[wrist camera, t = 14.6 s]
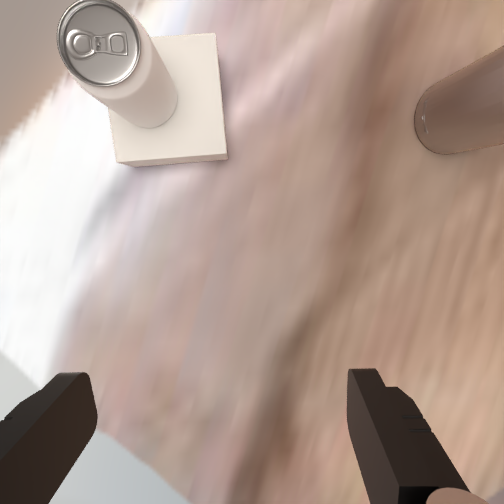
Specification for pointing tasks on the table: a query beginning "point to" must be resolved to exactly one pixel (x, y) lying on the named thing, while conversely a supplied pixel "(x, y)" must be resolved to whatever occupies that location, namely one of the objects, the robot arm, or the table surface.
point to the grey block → (180, 109)
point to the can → (116, 61)
